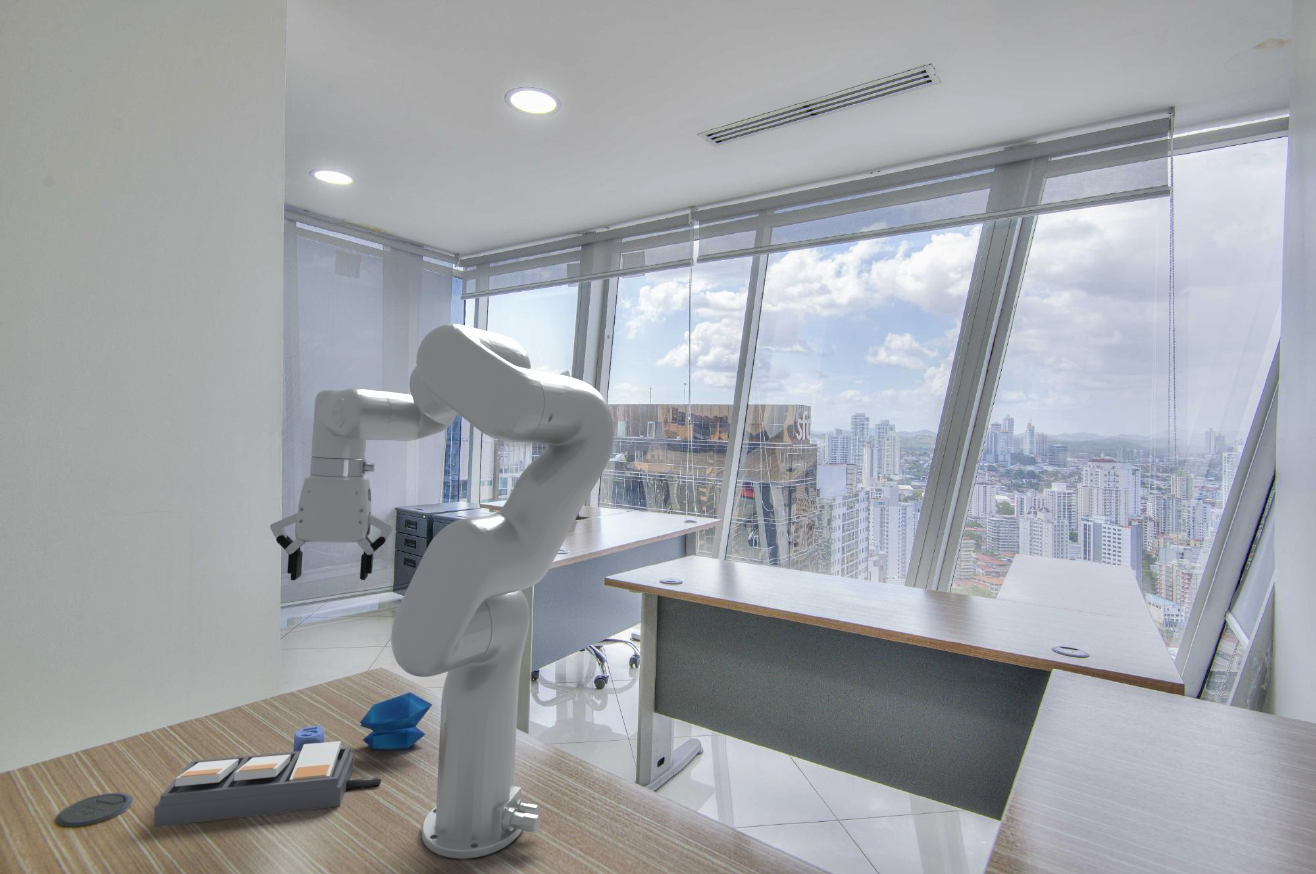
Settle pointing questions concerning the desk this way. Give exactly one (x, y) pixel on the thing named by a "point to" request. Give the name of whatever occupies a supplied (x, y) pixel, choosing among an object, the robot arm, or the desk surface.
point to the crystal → (395, 722)
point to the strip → (256, 793)
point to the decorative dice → (308, 737)
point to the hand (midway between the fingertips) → (330, 578)
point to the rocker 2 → (316, 761)
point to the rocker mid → (262, 767)
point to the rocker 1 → (207, 772)
